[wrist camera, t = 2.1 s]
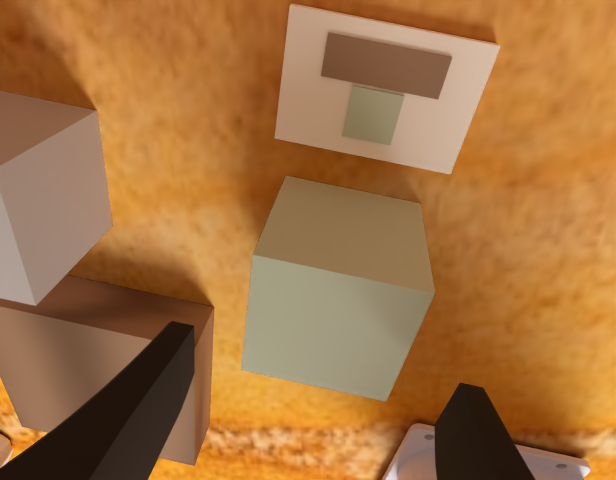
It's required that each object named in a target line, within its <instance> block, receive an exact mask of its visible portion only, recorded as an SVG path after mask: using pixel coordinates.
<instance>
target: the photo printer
mask: <svg viewBox="0 0 616 480" xmlns="http://www.w3.org/2000/svg"><path fill="white" fill-rule="evenodd" d="M13 449H14V447H13V446H11V445H10V440H8V439H7V438H6V437H5V436H3V435H1V434H0V468H1V467H2V466H4V465H5V464H6V463H7V462H8V460H9V458H10V456H11V454H12V452H13Z"/></svg>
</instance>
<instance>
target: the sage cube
mask: <svg viewBox="0 0 616 480" xmlns="http://www.w3.org/2000/svg"><path fill="white" fill-rule="evenodd" d="M434 295H435V289H434V283H433V276H432V270H431V264H430V258H429V252H428V246H427V240H426V234H425V228H424V221H423V215H422V209H421V203H417V202H412V201H407V200H402V199H397V198H392V197H388V196H383V195H378V194H373V193H368V192H363V191H359V190H354V189H349V188H344V187H339V186H335V185H330V184H325V183H320V182H315V181H310V180H306V179H301V178H296V177H291V176H285V179H284V181H283V183H282V186H281V188H280V190H279V193H278V195H277V198H276V200H275V202H274V205H273V207H272V210H271V212H270V214H269V217H268V219H267V222H266V224H265V226H264V229H263V231H262V234H261V236H260V238H259V241H258V243H257V246H256V248H255V250H254V253H253V257H252V266H251V276H250V286H249V296H248V306H247V316H246V326H245V336H244V346H243V356H242V366H241V370H243V371H247V372H252V373H257V374H261V375H266V376H270V377H275V378H279V379H284V380H288V381H293V382H298V383H302V384H307V385H311V386H316V387H320V388H325V389H329V390H334V391H338V392H343V393H348V394H352V395H357V396H361V397H366V398H370V399H375V400H379V401H384V402H386V401H387V399H388V397H389V395H390V392H391V390H392V388H393V386H394V384H395V381H396V379H397V377H398V375H399V373H400V370H401V368H402V366H403V364H404V361H405V359H406V357H407V355H408V353H409V350H410V348H411V346H412V344H413V342H414V339H415V337H416V335H417V333H418V331H419V328H420V326H421V324H422V322H423V319H424V317H425V315H426V313H427V311H428V308H429V306H430V304H431V302H432V300H433V297H434Z"/></svg>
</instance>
